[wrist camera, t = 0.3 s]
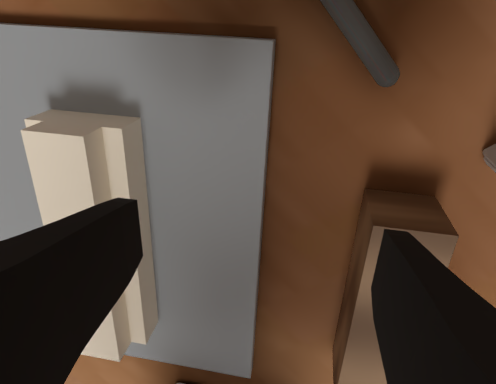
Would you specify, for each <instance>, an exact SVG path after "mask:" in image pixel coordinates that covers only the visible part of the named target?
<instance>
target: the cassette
mask: <svg viewBox="0 0 496 384" xmlns="http://www.w3.org/2000/svg"><path fill="white" fill-rule="evenodd" d="M483 155H484V158H483V159H484V160H485V162H486V164H487V165H488V166H489V167H490V168H491V169H492V170H493V171H494V172H495V173H496V144H494V145H492V146H490V147H488V148H486V149H484V150H483Z"/></svg>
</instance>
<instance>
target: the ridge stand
mask: <svg viewBox="0 0 496 384" xmlns="http://www.w3.org/2000/svg"><path fill="white" fill-rule="evenodd" d="M275 43H276V39H266V38H250V37H233V36H216V35H199V34H183V33H166V32H149V31H132V30H115V29H99V28H82V27H65V26H48V25H32V24H15V23H0V241H2V240H5V239H8V238H11V237H14V236H17V235H20V234H23V233H25V232H28V231H31V230H33V229H36V228H39V227H42V226H44V225H47V224H50V223H52V222H55V221H57V220H60V219H62V218H65V217H67V216H70V215H72V214H75V213H77V212H80V211H82V210H85V209H87V208H90V207H92V206H95V205H97V204H100V203H102V202H105V201H108V200H111V199H115V198H126V199H135V200H137V203H138V212H139V221H140V231H141V240H142V249H143V257H142V259H141V262H140V264H139V266H138V268H137V270H136V272H135V274H134V276H133V278H132V280H131V281H130V283H129V285H128V286H127V288H126V289H125V291H124V292H123V294H122V295H121V297H120V298H119V299H118V301H117V302H116V304H115V305H114V307H113V308H112V309H111V311H110V312H109V314H108V315H107V317H106V318H105V319H104V321H103V322H102V324H101V325H100V327H99V328H98V329H97V331H96V332H95V334H94V335H93V336H92V338H91V339H90V341H89V342H88V344H87V345H86V347H85V348H84V350H83V351H82V353H81V354H82V355H87V356H92V357H97V358H103V359H108V360H113V361H118V362H120V360H121V359H122V357H123V355H128V356H133V357H139V358H144V359H149V360H154V361H160V362H165V363H170V364H176V365H181V366H186V367H191V368H197V369H202V370H207V371H213V372H218V373H223V374H228V375H234V376H239V377H244V378H251V373H252V368H253V356H254V342H255V328H256V314H257V299H258V285H259V271H260V257H261V242H262V228H263V214H264V200H265V186H266V171H267V157H268V143H269V129H270V115H271V100H272V86H273V72H274V58H275Z"/></svg>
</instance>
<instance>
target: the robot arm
mask: <svg viewBox="0 0 496 384" xmlns="http://www.w3.org/2000/svg"><path fill="white" fill-rule="evenodd" d="M142 257H143V249H142V240H141V231H140V221H139V212H138V203H137V200H135V199H126V198H115V199H111V200H108V201H105V202H102V203H100V204H97V205H95V206H92V207H90V208H87V209H85V210H82V211H80V212H77V213H75V214H72V215H70V216H67V217H65V218H62V219H60V220H57V221H55V222H52V223H50V224H47V225H44V226H42V227H39V228H36V229H33V230H31V231H28V232H25V233H23V234H20V235H17V236H14V237H11V238H8V239H5V240H2V241H0V384H64V383H65V381H66V379H67V377H68V375H69V374H70V372H71V370H72V368H73V366H74V365H75V363H76V361H77V359H78V358H79V356H80V355H81V353H82V351H83V350H84V348H85V347H86V345H87V344H88V342H89V341H90V339H91V338H92V336H93V335H94V334H95V332H96V331H97V329H98V328H99V327H100V325H101V324H102V322H103V321H104V319H105V318H106V317H107V315H108V314H109V312H110V311H111V309H112V308H113V307H114V305H115V304H116V302H117V301H118V299H119V298H120V297H121V295H122V294H123V292H124V291H125V289H126V288H127V286H128V285H129V283H130V281H131V280H132V278H133V276H134V274H135V272H136V270H137V268H138V266H139V264H140V262H141V259H142ZM371 297H372V310H373V320H374V325H375V330H376V335H377V340H378V344H379V349H380V354H381V358H382V363H383V367H384V372H385V376H386V381H387V384H496V308H495V307H493V306H492V305H491V304H490V303H488V302H487V301H486V300H485V299H483V298H482V297H481V296H480V295H478V294H477V293H476V292H475V291H473V290H472V289H471V288H470V287H469V286H467V285H466V284H465V283H464V282H463V281H462V280H460V279H459V278H458V277H457V276H456V275H455V274H454V273H452V272H451V271H450V270H449V269H448V268H447V267H446V266H445V265H444V264H443V263H441V262H440V261H439V260H438V259H437V258H436V257H435V256H434V255H433V254H432V253H431V252H430V251H429V250H428V249H427V248H425V247H424V246H423V245H422V244H421V243H420V242H419V241H418V240H417V239H416V238H415V237H414V236H412V235H411V234H410V233H409V232H407V231H398V230H390V229H384V233H383V237H382V241H381V246H380V250H379V254H378V259H377V263H376V267H375V272H374V276H373V281H372V285H371ZM176 384H185V383H176Z"/></svg>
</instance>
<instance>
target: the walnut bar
mask: <svg viewBox="0 0 496 384" xmlns="http://www.w3.org/2000/svg"><path fill="white" fill-rule="evenodd" d="M384 229H390V230H398V231H407V232H409V233H410V234H411V235H412V236H414V237H415V238H416V239H417V240H418V241H419V242H420V243H421V244H422V245H423V246H424V247H425V248H427V249H428V250H429V251H430V252H431V253H432V254H433V255H434V256H435V257H436V258H437V259H438V260H439V261H440V262H441V263H443V264H444V265H445V266H446V267H447V268H448V266H449V263H450V260H451V257H452V254H453V251H454V248H455V246H456V243H457V240H458V237H459V236H458V234H457V232H456V231H455V229H454V227H453V225H452V224H451V222H450V220H449V219H448V217H447V215H446V214H445V212H444V210H443V209H442V207H441V205H440V204H439V202H438V200H437V199H436V197H435V196H428V195H419V194H410V193H401V192H392V191H383V190H373V189H365V190H364V195H363V200H362V205H361V210H360V215H359V220H358V225H357V230H356V235H355V240H354V245H353V250H352V255H351V260H350V265H349V270H348V275H347V280H346V285H345V290H344V295H343V300H342V305H341V310H340V315H339V320H338V325H337V330H336V335H335V340H334V345H333V381H334V384H387V381H386V376H385V372H384V367H383V363H382V358H381V354H380V349H379V344H378V340H377V335H376V330H375V325H374V320H373V310H372V297H371V285H372V281H373V276H374V272H375V267H376V263H377V259H378V254H379V250H380V246H381V241H382V237H383V233H384Z"/></svg>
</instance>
